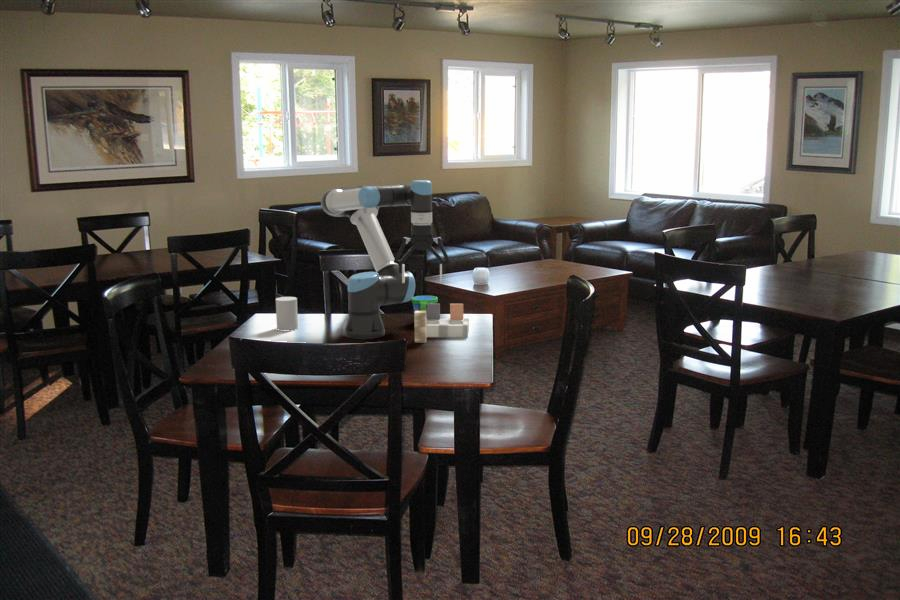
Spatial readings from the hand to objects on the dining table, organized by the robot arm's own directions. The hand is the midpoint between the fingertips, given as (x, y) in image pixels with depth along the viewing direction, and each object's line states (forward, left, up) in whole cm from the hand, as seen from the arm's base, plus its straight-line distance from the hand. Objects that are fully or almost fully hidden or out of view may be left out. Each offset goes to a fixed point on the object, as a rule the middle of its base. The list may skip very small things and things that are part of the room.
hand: (422, 282), depth 305 cm
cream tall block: (-1, -1, -22) cm, 22 cm away
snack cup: (-2, +30, -22) cm, 37 cm away
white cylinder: (-55, +18, -22) cm, 62 cm away
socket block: (+7, +11, -22) cm, 25 cm away
